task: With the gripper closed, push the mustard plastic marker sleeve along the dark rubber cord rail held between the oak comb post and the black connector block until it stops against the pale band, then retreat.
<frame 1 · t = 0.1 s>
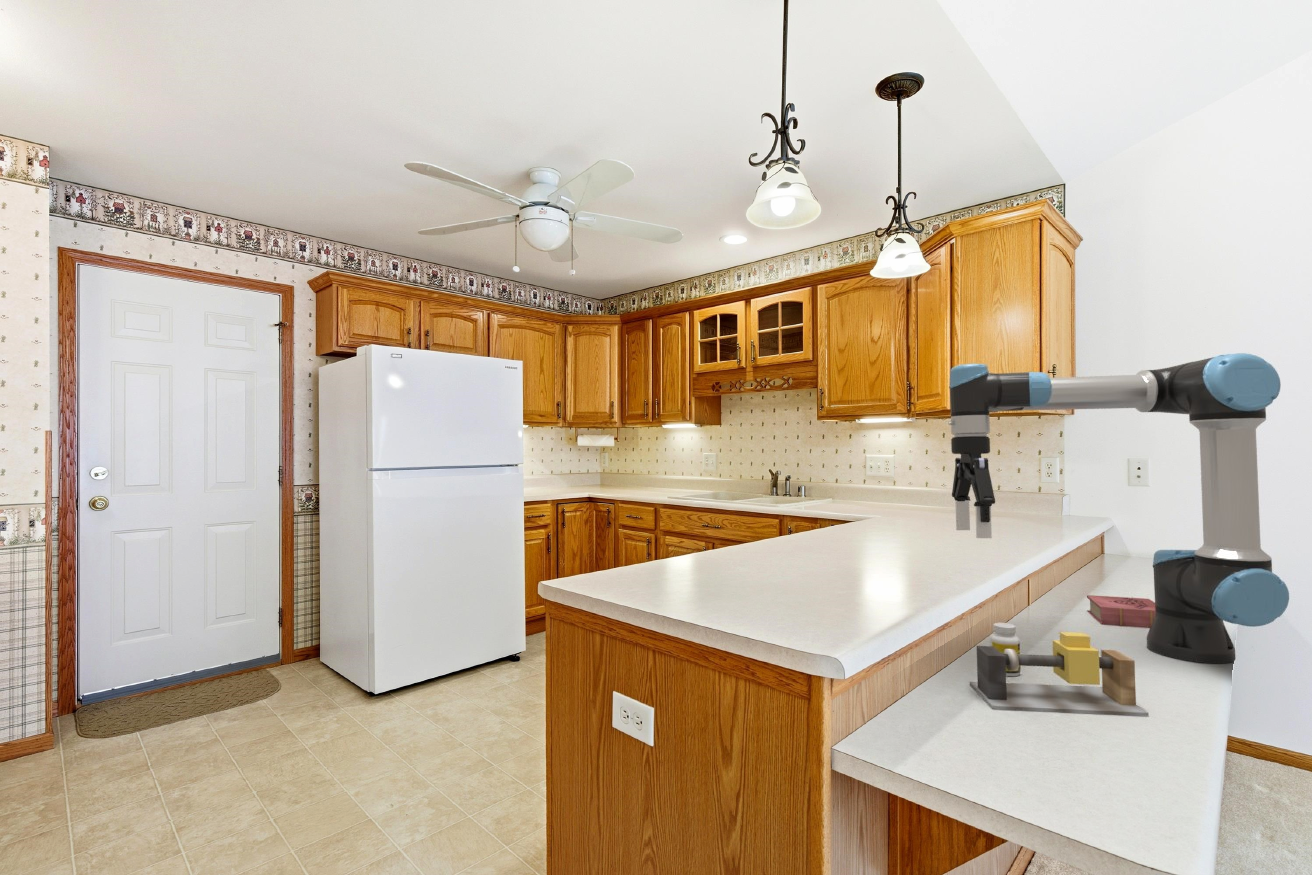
hand: (972, 534, 136), 28 cm above the countertop, fingers open, 13 cm apart
supplement bottle: (1005, 673, 130), on the countertop
book: (1126, 622, 168), on the countertop
sleeve: (1075, 656, 115), point 8 cm above the countertop, slide at 0.0 cm
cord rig: (1053, 699, 115), on the countertop
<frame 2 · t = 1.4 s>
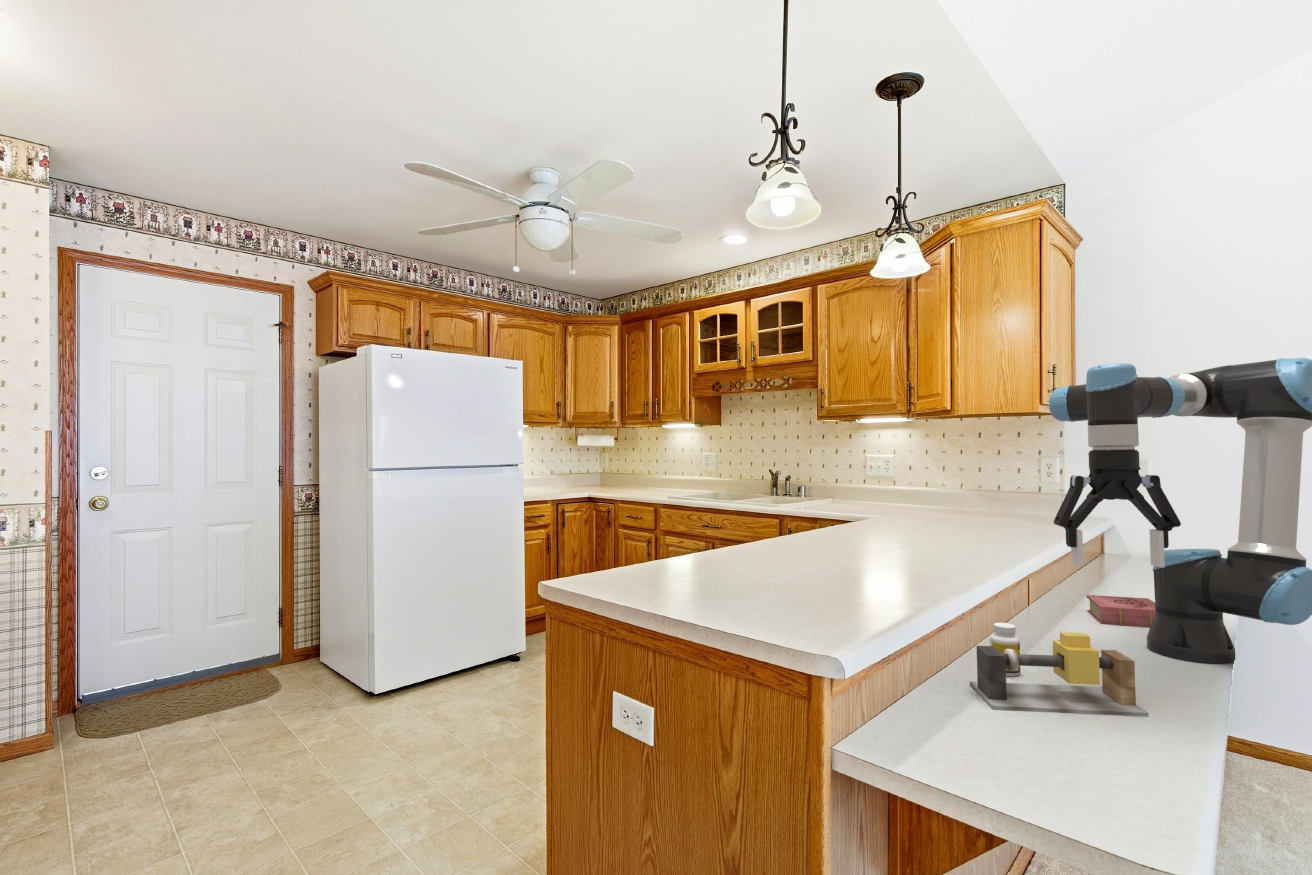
hand: (1117, 565, 115), 25 cm above the countertop, fingers open, 12 cm apart
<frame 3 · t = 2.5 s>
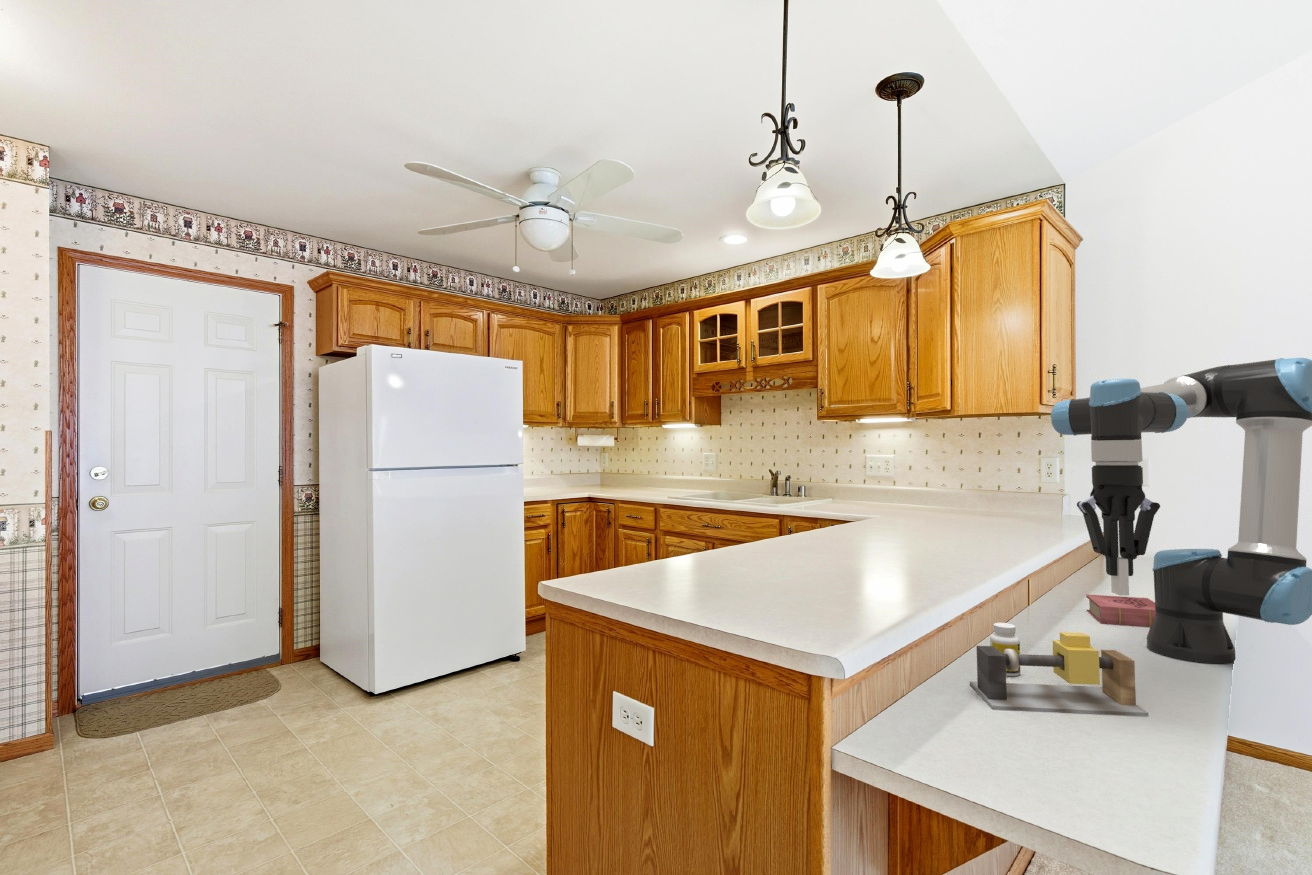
hand: (1120, 593, 114), 20 cm above the countertop, fingers closed
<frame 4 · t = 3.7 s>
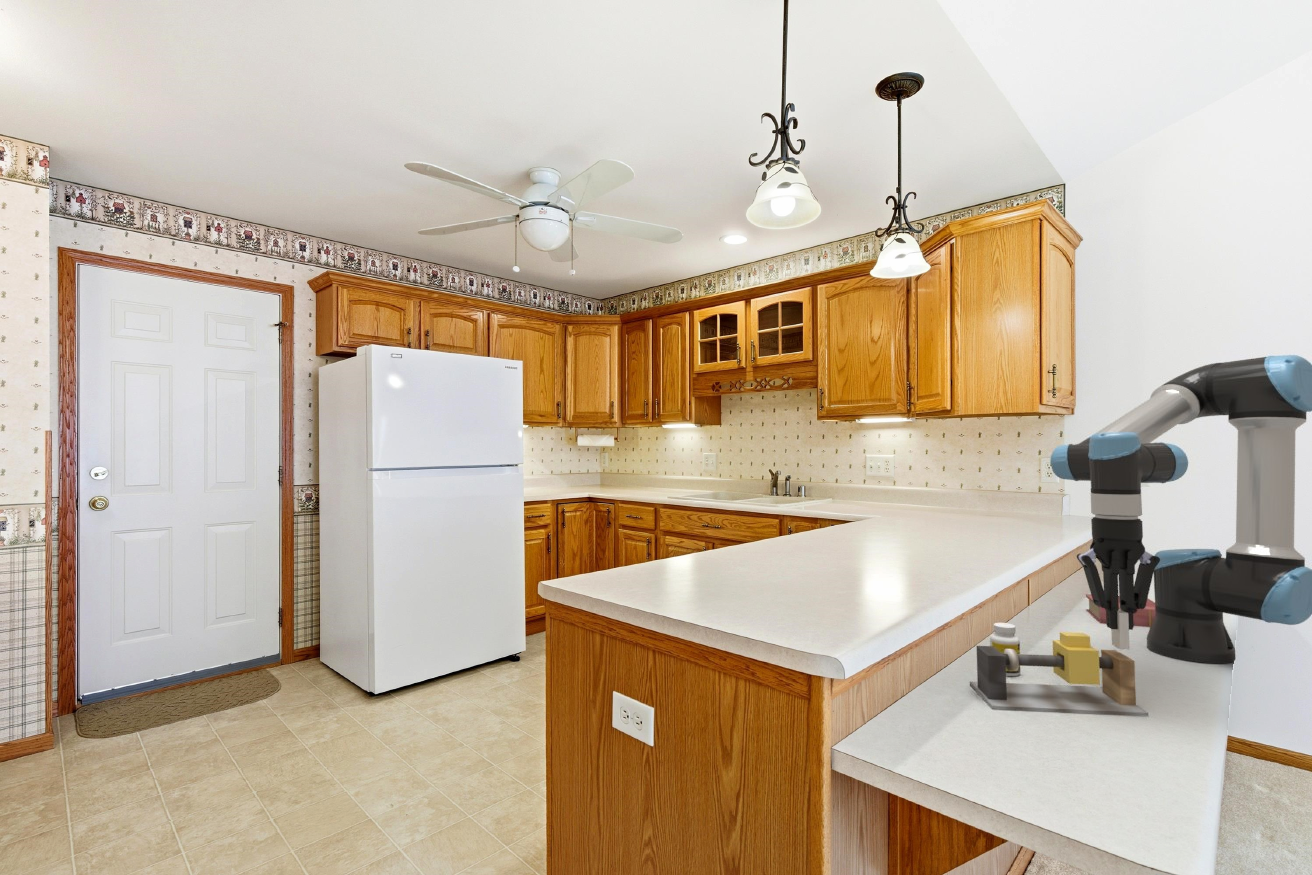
hand: (1120, 646, 114), 10 cm above the countertop, fingers closed
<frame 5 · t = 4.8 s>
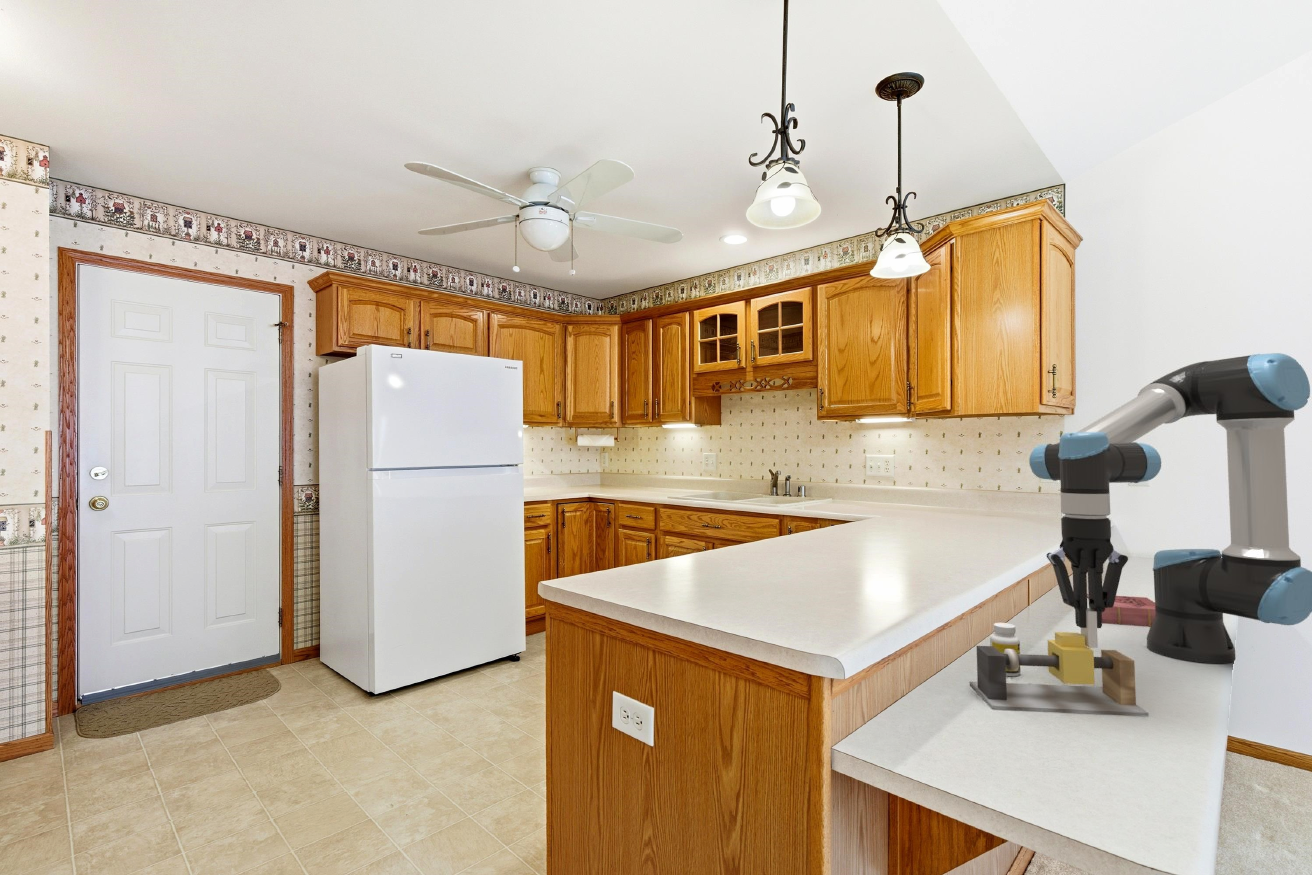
hand: (1089, 645, 115), 10 cm above the countertop, fingers closed
sleeve: (1070, 656, 115), point 8 cm above the countertop, slide at 0.9 cm, touching gripper
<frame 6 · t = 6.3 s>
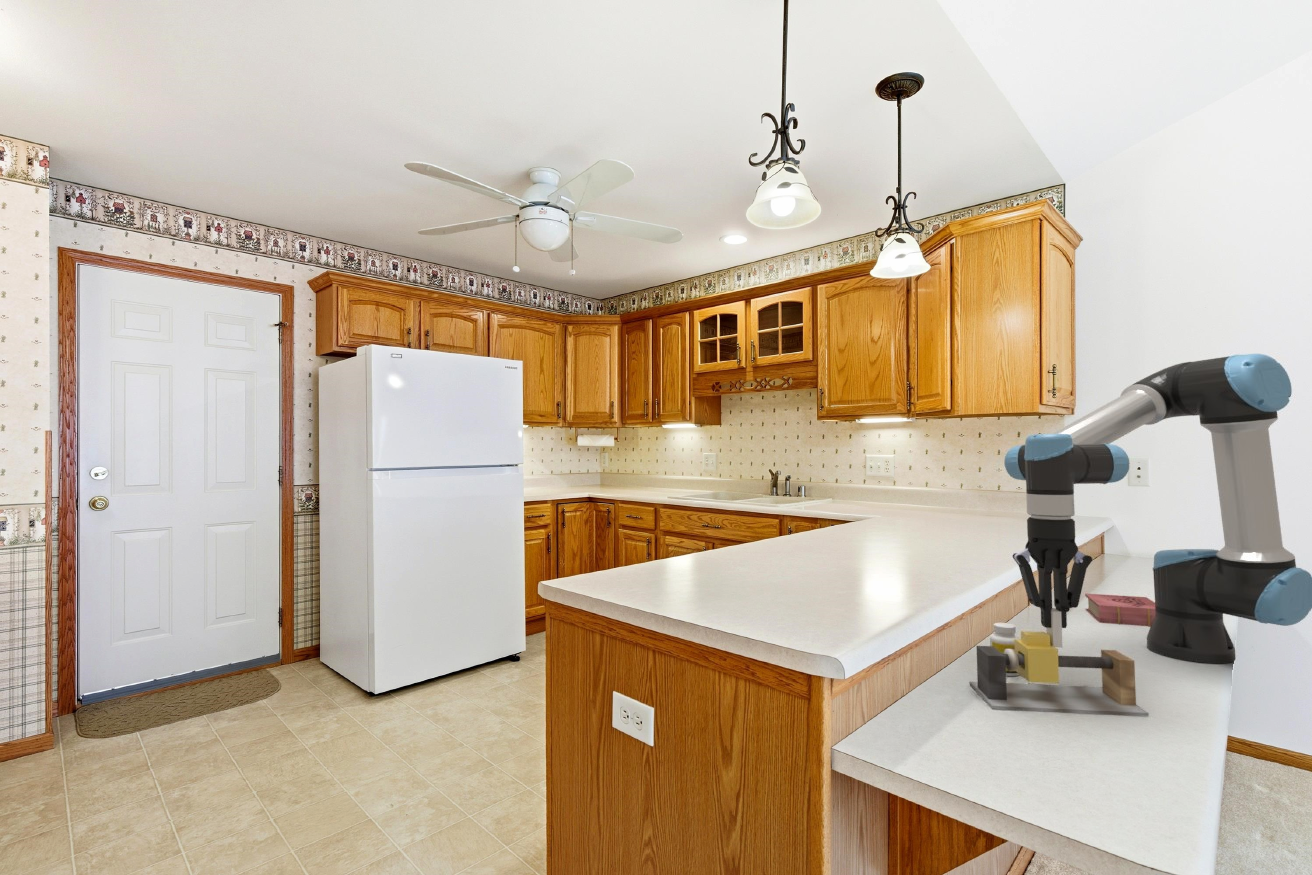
hand: (1054, 645, 116), 10 cm above the countertop, fingers closed
sleeve: (1035, 654, 116), point 8 cm above the countertop, slide at 6.7 cm, touching gripper
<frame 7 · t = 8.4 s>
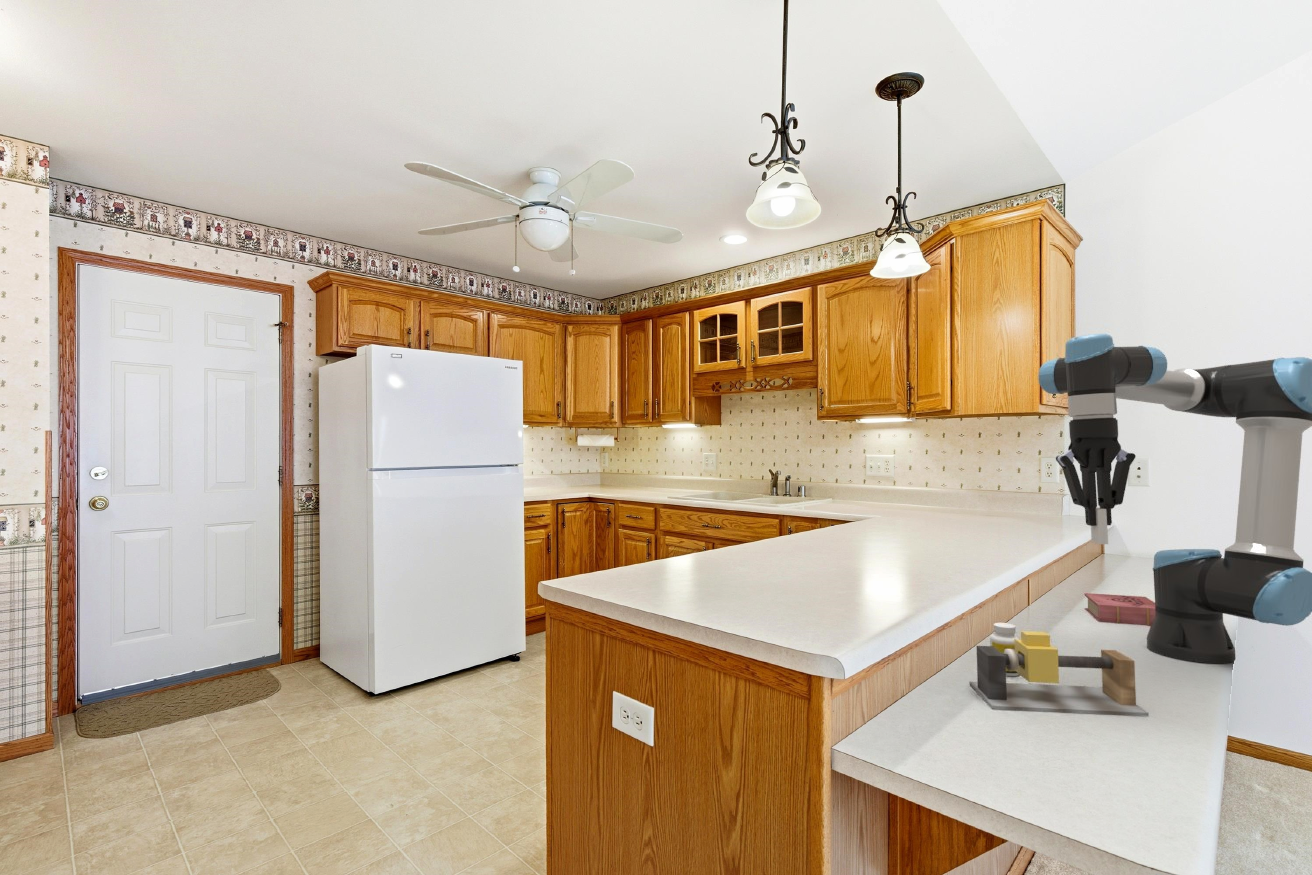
hand: (1099, 542, 118), 28 cm above the countertop, fingers closed
sleeve: (1035, 654, 116), point 8 cm above the countertop, slide at 6.7 cm
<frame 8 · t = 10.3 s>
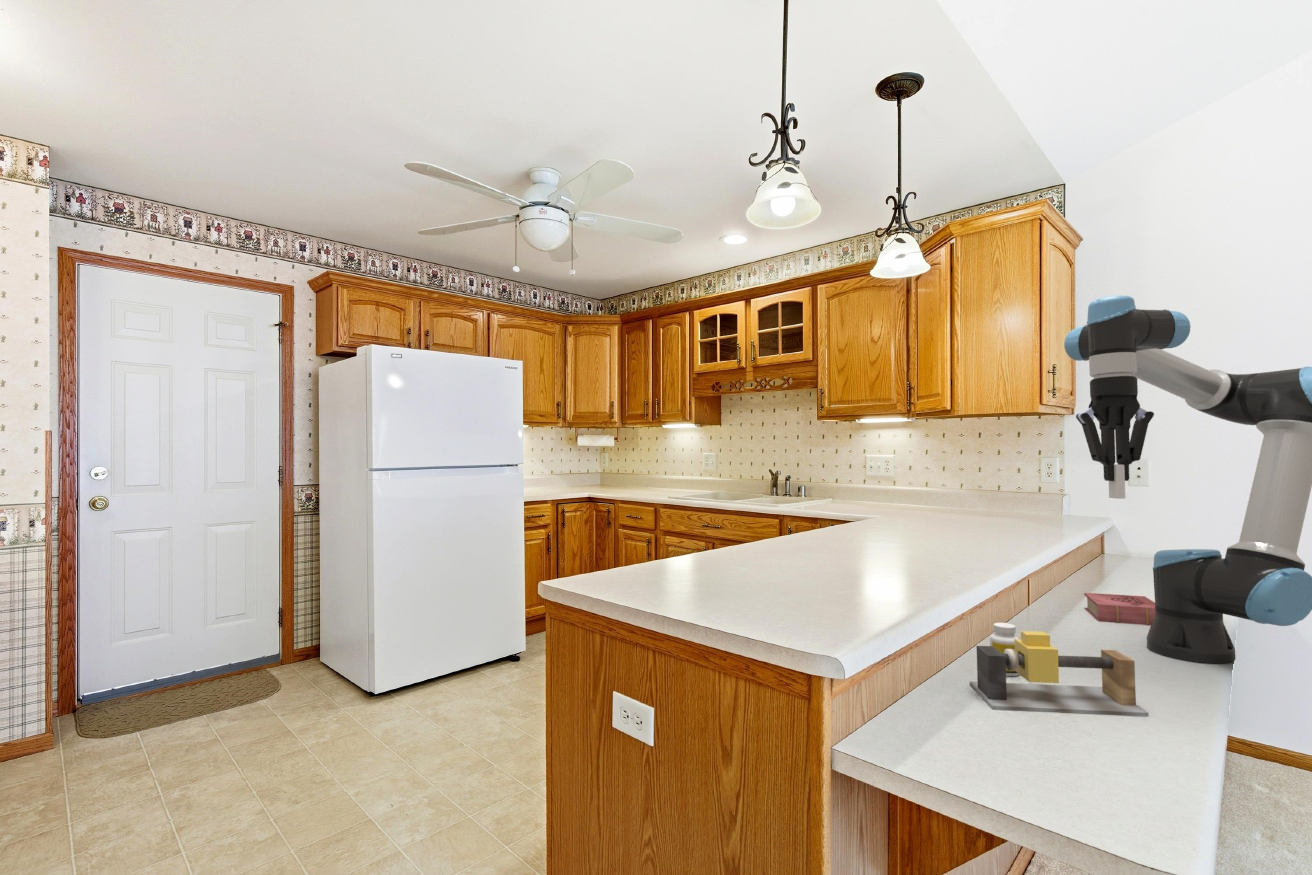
hand: (1117, 497, 122), 36 cm above the countertop, fingers closed
at the end: sleeve slide at 6.7 cm; sleeve 0.5 cm from the target spot on the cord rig, point 8.0 cm above the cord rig's base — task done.
